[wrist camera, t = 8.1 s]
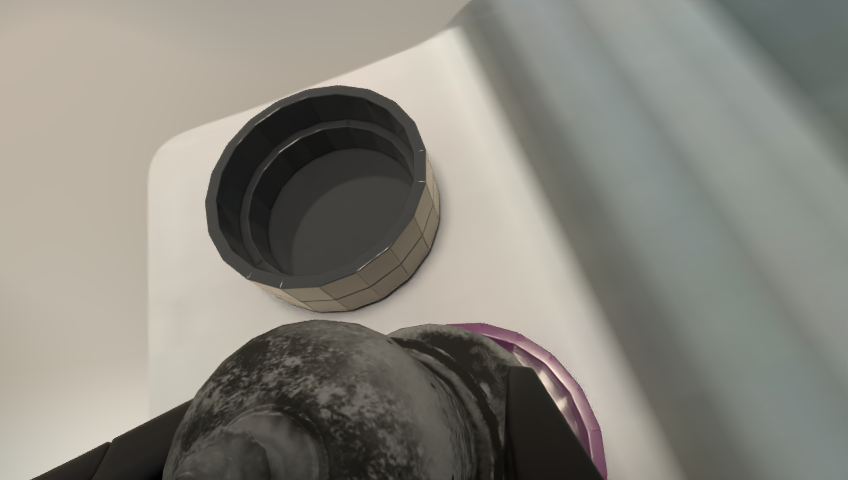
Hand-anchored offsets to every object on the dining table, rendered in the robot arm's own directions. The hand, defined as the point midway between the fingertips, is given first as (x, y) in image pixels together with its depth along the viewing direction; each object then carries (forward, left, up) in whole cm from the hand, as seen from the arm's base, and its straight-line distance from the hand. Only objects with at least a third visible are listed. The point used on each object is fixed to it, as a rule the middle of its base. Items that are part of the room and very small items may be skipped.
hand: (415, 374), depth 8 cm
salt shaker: (-1, 0, -6) cm, 7 cm away
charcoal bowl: (+10, +7, -13) cm, 18 cm away
